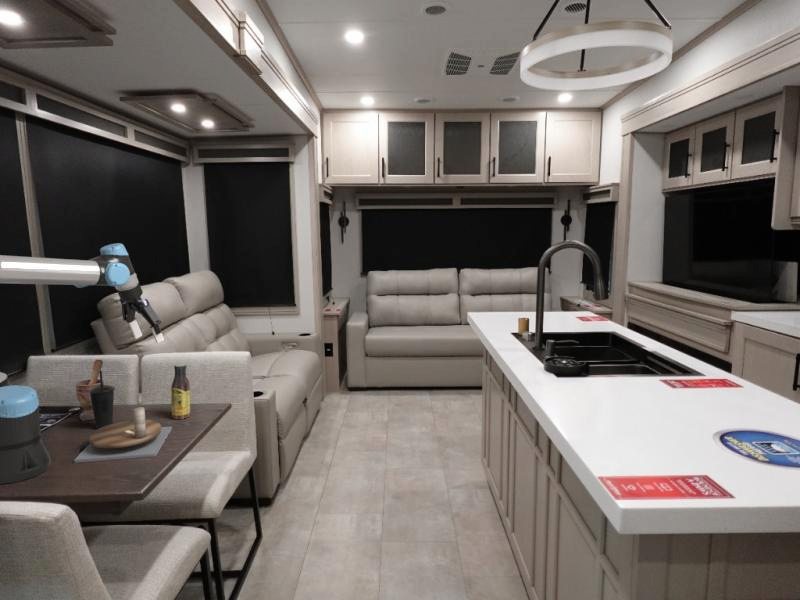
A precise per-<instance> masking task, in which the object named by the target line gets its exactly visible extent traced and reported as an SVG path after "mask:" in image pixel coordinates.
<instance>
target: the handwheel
mask: <svg viewBox="0 0 800 600" xmlns="http://www.w3.org/2000/svg"><path fill="white" fill-rule="evenodd" d="M145 410H146V409H145V407H143V406H141V407H135V408H133V420H132V419H131V420H126V421H125V420H124V421H119V422H115V423H114V422H113V424H110V425H107V426H104V427H102V428H100V429H95V430H94V431H92V433H91V434H89V444H91V445H93V446H95V447H99V448H121V447H128V446H133V445H137V444H140V443H143V442H146V441H149V440H151V439H153V438H155V437H156V436H158V435H159V434H160V433H161V427H162V424H160V422H158V421H154V420H151V419H146V412H145Z"/></svg>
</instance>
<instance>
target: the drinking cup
mask: <svg viewBox="0 0 800 600" xmlns="http://www.w3.org/2000/svg"><path fill="white" fill-rule="evenodd" d="M99 380H100V385H99V386H96V387H94V388H92V389H90V390H89V393H90V396H91V401H92V407H93V413H94V418H95V419H94V422H95V428H96V429H95V430H98V429H100V428H102V427H104V426H107V425H110V424H114V422H113V419H114V416H113V415H114V396H115V388H116V387H115V386H113V385H109V384H104V385H103V381H104V380H103V371H102V370H101V371H100V373H99Z"/></svg>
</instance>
